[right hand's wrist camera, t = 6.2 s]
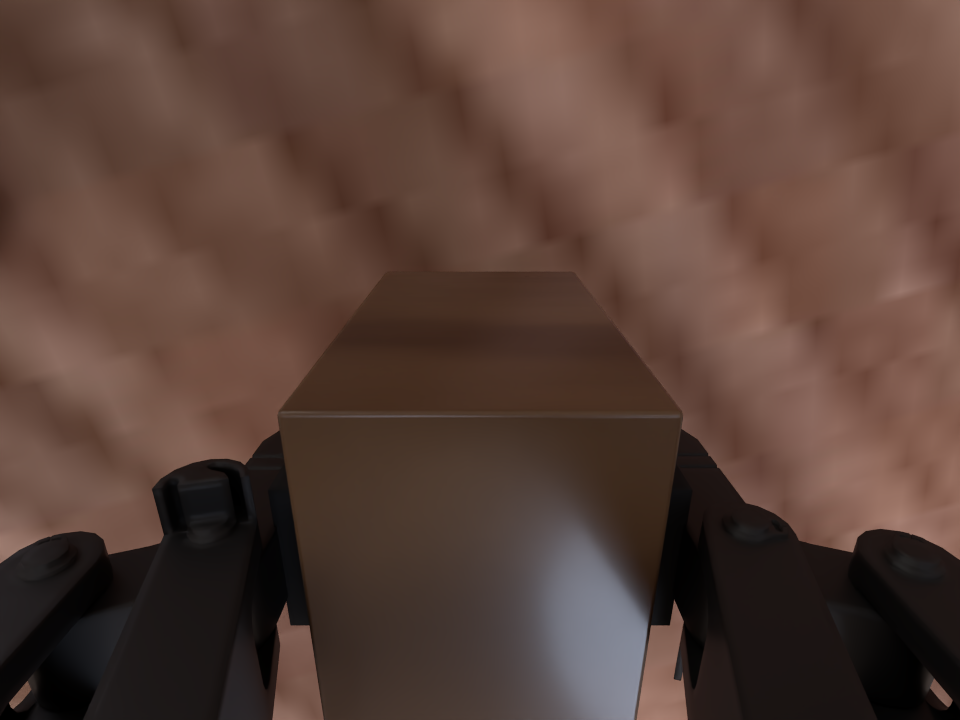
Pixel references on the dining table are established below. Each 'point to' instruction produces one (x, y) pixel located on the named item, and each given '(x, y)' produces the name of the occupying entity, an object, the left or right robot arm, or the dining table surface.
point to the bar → (480, 502)
